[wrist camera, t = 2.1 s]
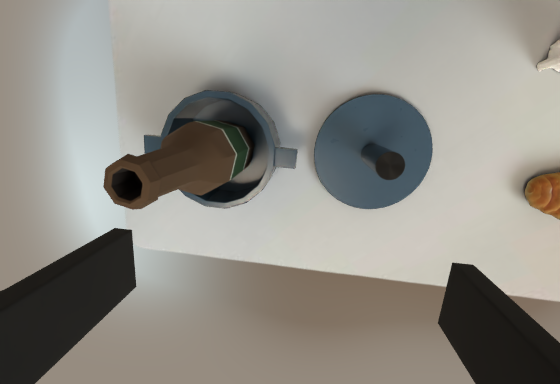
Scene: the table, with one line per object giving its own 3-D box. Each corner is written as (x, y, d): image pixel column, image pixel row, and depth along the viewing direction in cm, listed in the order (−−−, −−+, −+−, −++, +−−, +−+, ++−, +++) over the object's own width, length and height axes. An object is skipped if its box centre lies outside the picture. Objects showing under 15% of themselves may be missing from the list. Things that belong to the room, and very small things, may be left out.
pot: (164, 89, 40) (138, 84, 34) (303, 100, 39) (301, 97, 33) (166, 188, 44) (143, 199, 38) (293, 202, 43) (290, 216, 37)
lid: (321, 90, 38) (324, 80, 28) (441, 99, 37) (490, 92, 27) (308, 200, 42) (307, 226, 32) (416, 212, 41) (450, 244, 31)
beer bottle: (224, 108, 40) (102, 95, 17) (267, 143, 41) (206, 178, 17) (194, 151, 42) (49, 192, 19) (235, 184, 43) (144, 262, 20)
